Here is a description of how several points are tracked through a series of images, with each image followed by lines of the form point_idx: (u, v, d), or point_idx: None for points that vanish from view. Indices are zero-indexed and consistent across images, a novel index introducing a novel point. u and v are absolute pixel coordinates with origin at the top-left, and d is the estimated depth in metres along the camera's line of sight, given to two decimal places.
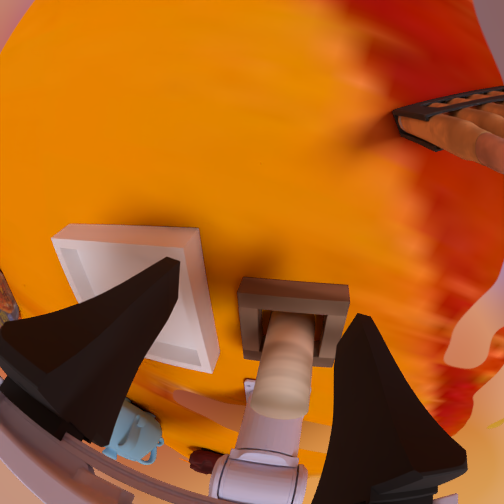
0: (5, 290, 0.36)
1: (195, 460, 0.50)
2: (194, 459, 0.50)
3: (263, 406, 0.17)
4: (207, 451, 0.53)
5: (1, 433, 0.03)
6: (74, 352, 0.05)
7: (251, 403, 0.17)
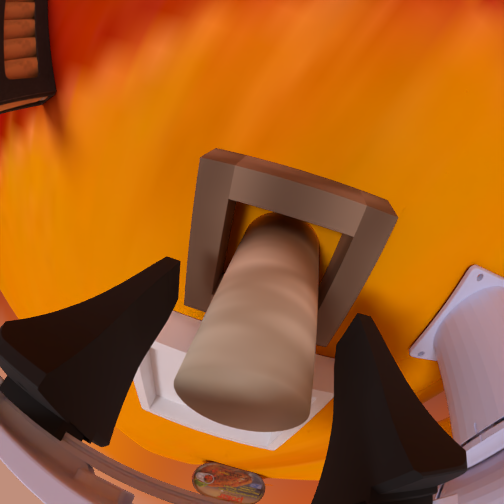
0: (229, 471, 0.42)
1: None
2: None
3: (234, 418, 0.08)
4: None
5: (1, 433, 0.03)
6: (74, 352, 0.05)
7: (223, 424, 0.08)
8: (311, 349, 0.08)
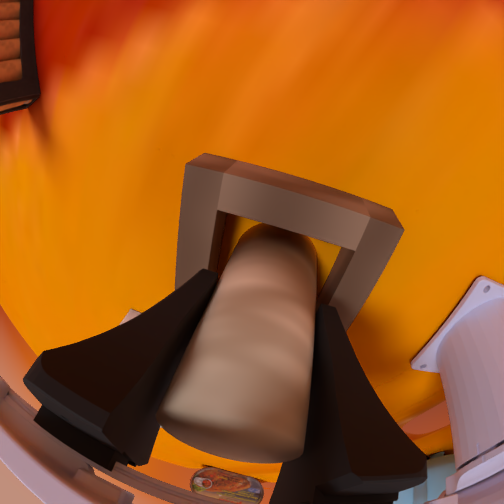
0: (227, 475, 0.41)
1: None
2: None
3: (222, 450, 0.07)
4: None
5: (1, 433, 0.03)
6: (132, 383, 0.05)
7: (212, 454, 0.07)
8: (306, 383, 0.07)
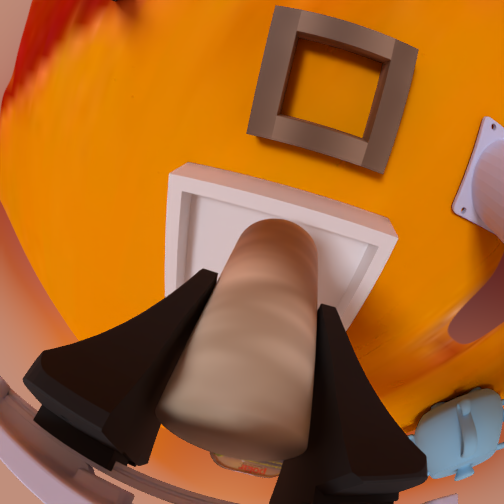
0: None
1: None
2: None
3: (223, 447, 0.06)
4: None
5: (1, 433, 0.03)
6: (132, 383, 0.05)
7: (213, 451, 0.07)
8: (309, 376, 0.07)
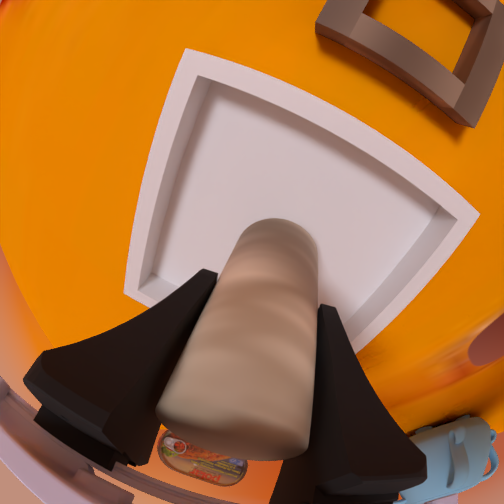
0: None
1: None
2: None
3: (223, 447, 0.06)
4: None
5: (1, 433, 0.03)
6: (132, 383, 0.05)
7: (213, 451, 0.07)
8: (310, 376, 0.07)
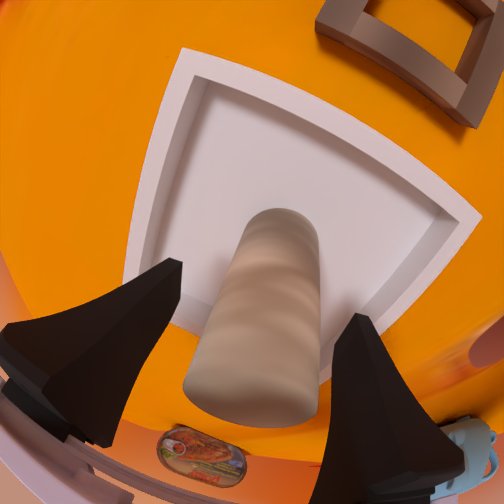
0: (205, 441, 0.35)
1: None
2: None
3: (242, 416, 0.08)
4: None
5: (1, 433, 0.03)
6: (77, 354, 0.05)
7: (231, 421, 0.08)
8: (317, 347, 0.08)
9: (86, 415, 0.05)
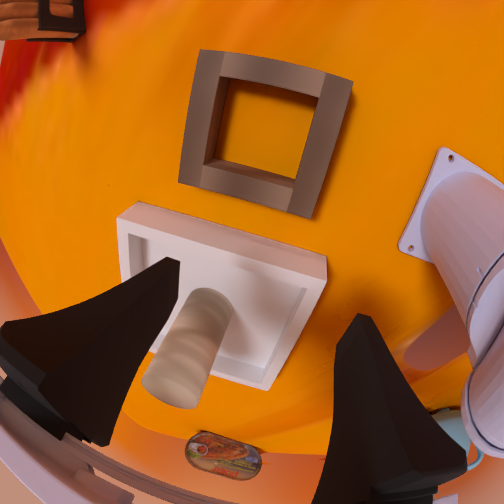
0: (224, 442, 0.43)
1: None
2: None
3: (172, 400, 0.16)
4: None
5: (1, 433, 0.03)
6: (74, 352, 0.05)
7: (171, 405, 0.17)
8: (196, 368, 0.16)
9: (83, 413, 0.05)
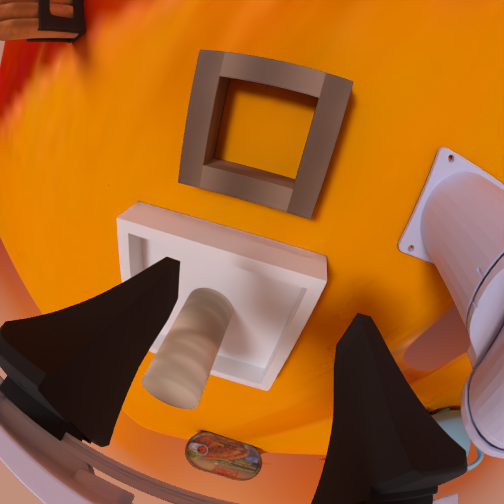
0: (224, 442, 0.43)
1: None
2: None
3: (172, 401, 0.16)
4: None
5: (1, 433, 0.03)
6: (74, 352, 0.05)
7: (171, 405, 0.17)
8: (197, 369, 0.16)
9: (83, 413, 0.05)
